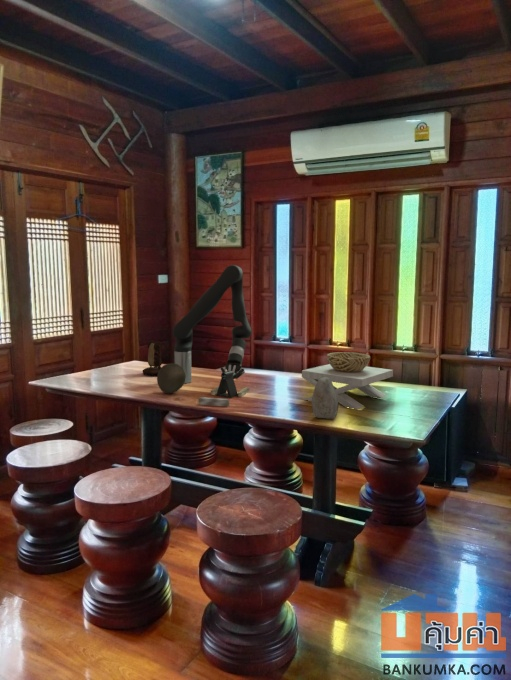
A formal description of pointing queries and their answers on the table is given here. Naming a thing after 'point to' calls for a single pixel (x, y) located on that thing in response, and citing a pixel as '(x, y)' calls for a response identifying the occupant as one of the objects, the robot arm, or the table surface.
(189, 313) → the robot arm
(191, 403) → the table surface
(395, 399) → the table surface
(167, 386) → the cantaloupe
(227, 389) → the phone stand
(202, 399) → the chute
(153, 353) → the oval plaque on stand
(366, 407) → the table surface
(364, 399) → the table surface
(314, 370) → the small white table
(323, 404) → the decorative stone
